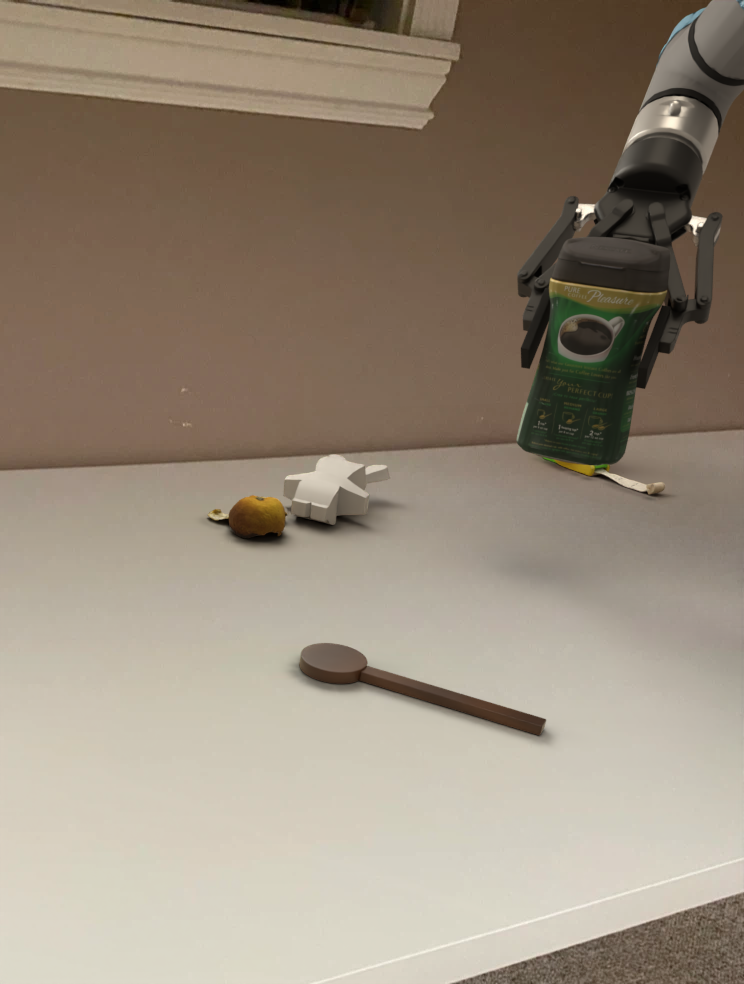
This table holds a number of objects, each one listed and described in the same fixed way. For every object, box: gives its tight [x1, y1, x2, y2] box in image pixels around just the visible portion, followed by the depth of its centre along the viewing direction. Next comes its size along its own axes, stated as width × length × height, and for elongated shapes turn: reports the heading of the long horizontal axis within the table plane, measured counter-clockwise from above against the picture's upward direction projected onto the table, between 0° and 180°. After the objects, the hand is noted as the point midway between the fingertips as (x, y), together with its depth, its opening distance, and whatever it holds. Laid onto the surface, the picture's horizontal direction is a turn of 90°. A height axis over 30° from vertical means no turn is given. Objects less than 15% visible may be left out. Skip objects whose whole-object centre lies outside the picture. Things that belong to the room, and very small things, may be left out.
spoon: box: [298, 642, 547, 736], centre depth 83 cm, size 19×5×1 cm, turn 61°
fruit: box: [207, 494, 288, 539], centre depth 112 cm, size 8×8×4 cm
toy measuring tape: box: [542, 457, 666, 495], centre depth 141 cm, size 6×20×7 cm, turn 34°
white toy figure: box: [282, 453, 391, 526], centre depth 120 cm, size 10×5×15 cm
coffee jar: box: [516, 236, 671, 466], centre depth 98 cm, size 10×8×19 cm
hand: (582, 368), depth 96 cm, fingers closed on coffee jar, 9 cm apart
